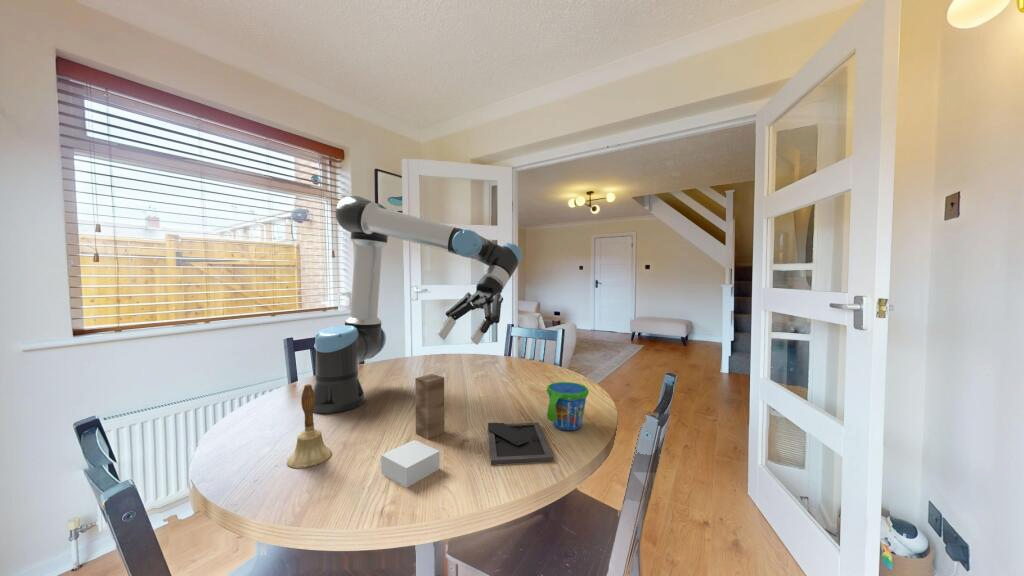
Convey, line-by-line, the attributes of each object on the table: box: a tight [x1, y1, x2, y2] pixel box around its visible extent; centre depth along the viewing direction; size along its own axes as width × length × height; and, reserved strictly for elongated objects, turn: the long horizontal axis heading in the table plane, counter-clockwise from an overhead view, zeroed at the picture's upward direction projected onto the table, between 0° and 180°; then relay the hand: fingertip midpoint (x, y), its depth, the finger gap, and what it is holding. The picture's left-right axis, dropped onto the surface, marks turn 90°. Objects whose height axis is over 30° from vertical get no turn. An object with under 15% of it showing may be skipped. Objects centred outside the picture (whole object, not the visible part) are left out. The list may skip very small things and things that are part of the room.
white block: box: [380, 439, 440, 489], centre depth 69 cm, size 8×8×4 cm
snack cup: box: [546, 381, 590, 431], centre depth 91 cm, size 16×10×10 cm
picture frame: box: [487, 421, 555, 466], centre depth 81 cm, size 13×2×18 cm
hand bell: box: [286, 383, 333, 469], centre depth 74 cm, size 8×8×16 cm
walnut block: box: [414, 373, 445, 441], centre depth 86 cm, size 5×5×14 cm
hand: (456, 339), depth 96 cm, fingers open, 13 cm apart
